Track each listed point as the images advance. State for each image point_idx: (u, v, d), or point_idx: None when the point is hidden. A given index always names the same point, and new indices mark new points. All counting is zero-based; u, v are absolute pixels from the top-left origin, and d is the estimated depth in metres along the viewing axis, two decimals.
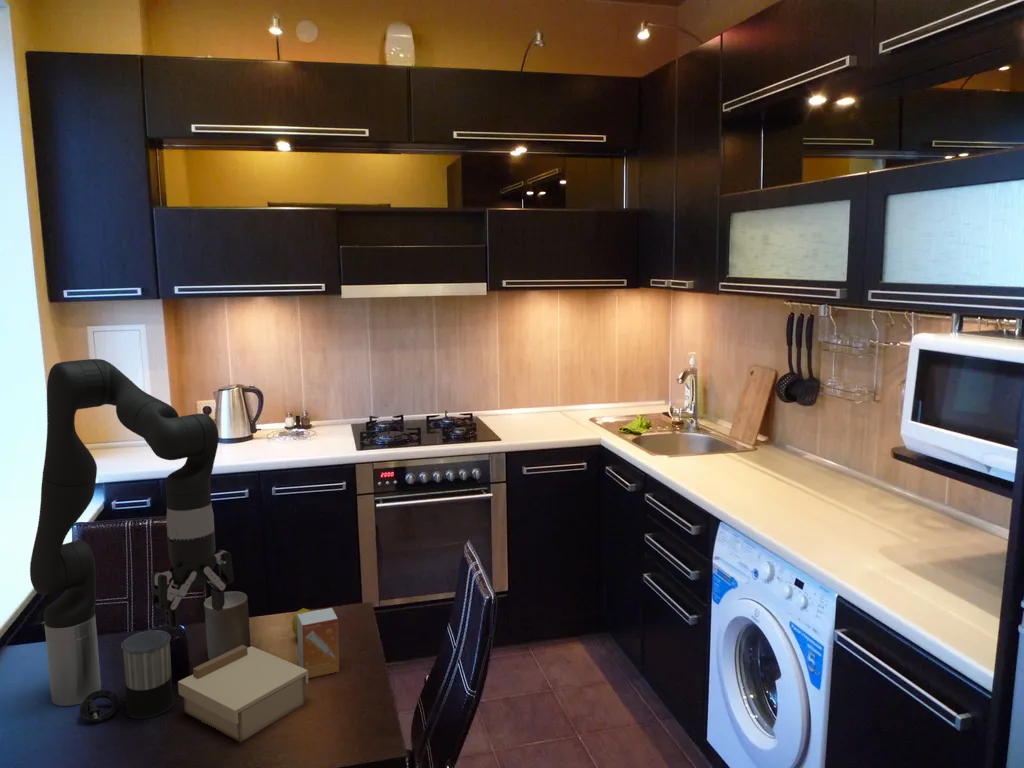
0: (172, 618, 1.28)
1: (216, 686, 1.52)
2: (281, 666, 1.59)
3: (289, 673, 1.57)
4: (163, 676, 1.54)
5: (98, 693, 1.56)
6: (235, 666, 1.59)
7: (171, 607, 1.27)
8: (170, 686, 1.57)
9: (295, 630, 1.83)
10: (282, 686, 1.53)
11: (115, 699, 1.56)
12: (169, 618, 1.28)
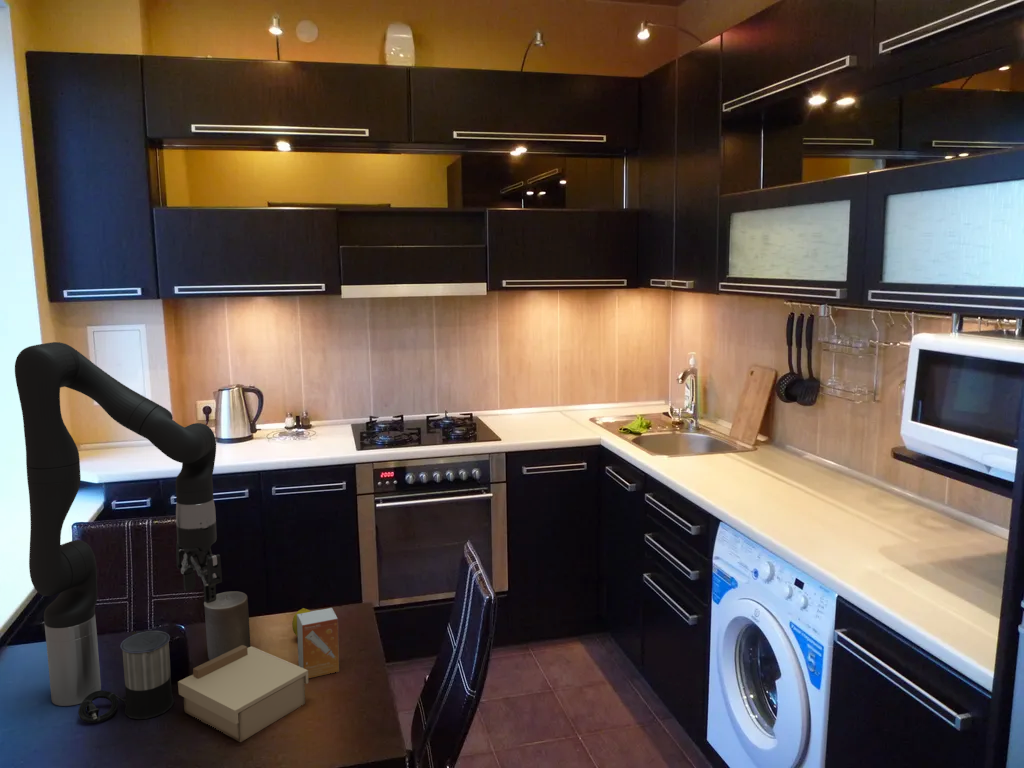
0: None
1: (216, 686, 1.52)
2: (281, 666, 1.59)
3: (289, 673, 1.57)
4: (163, 676, 1.54)
5: (97, 694, 1.56)
6: (235, 666, 1.59)
7: None
8: (169, 686, 1.57)
9: (295, 630, 1.83)
10: (282, 686, 1.53)
11: (114, 699, 1.56)
12: (214, 591, 1.55)
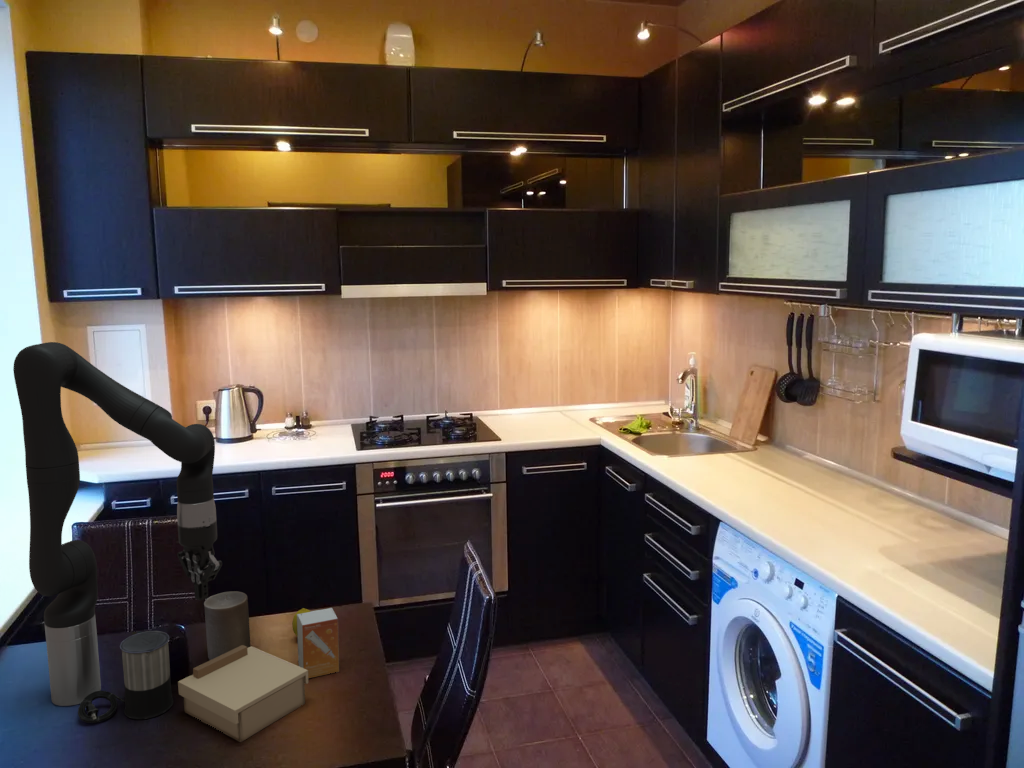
0: None
1: (216, 686, 1.52)
2: (281, 666, 1.59)
3: (289, 673, 1.57)
4: (162, 676, 1.54)
5: (97, 694, 1.56)
6: (235, 666, 1.59)
7: None
8: (169, 687, 1.56)
9: (295, 630, 1.83)
10: (282, 686, 1.53)
11: (114, 700, 1.56)
12: (207, 589, 1.60)
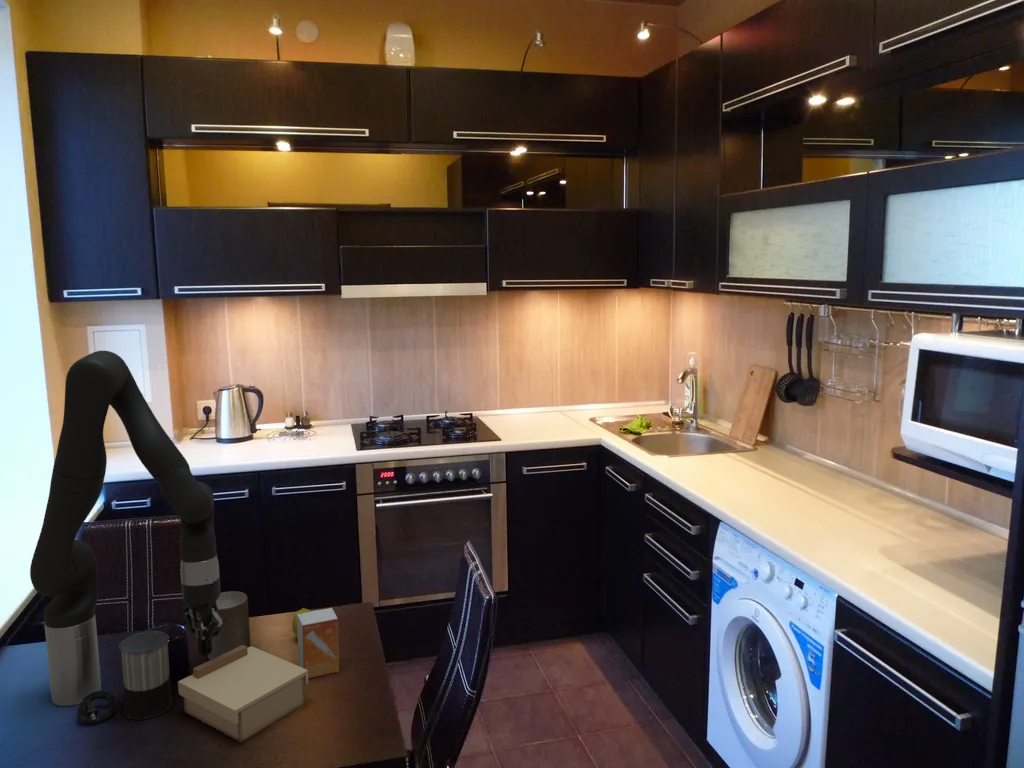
0: None
1: (216, 686, 1.52)
2: (281, 666, 1.59)
3: (289, 673, 1.57)
4: (161, 677, 1.54)
5: (96, 694, 1.56)
6: (235, 666, 1.59)
7: None
8: (168, 687, 1.56)
9: (295, 630, 1.83)
10: (282, 686, 1.53)
11: (113, 700, 1.56)
12: (210, 644, 1.62)
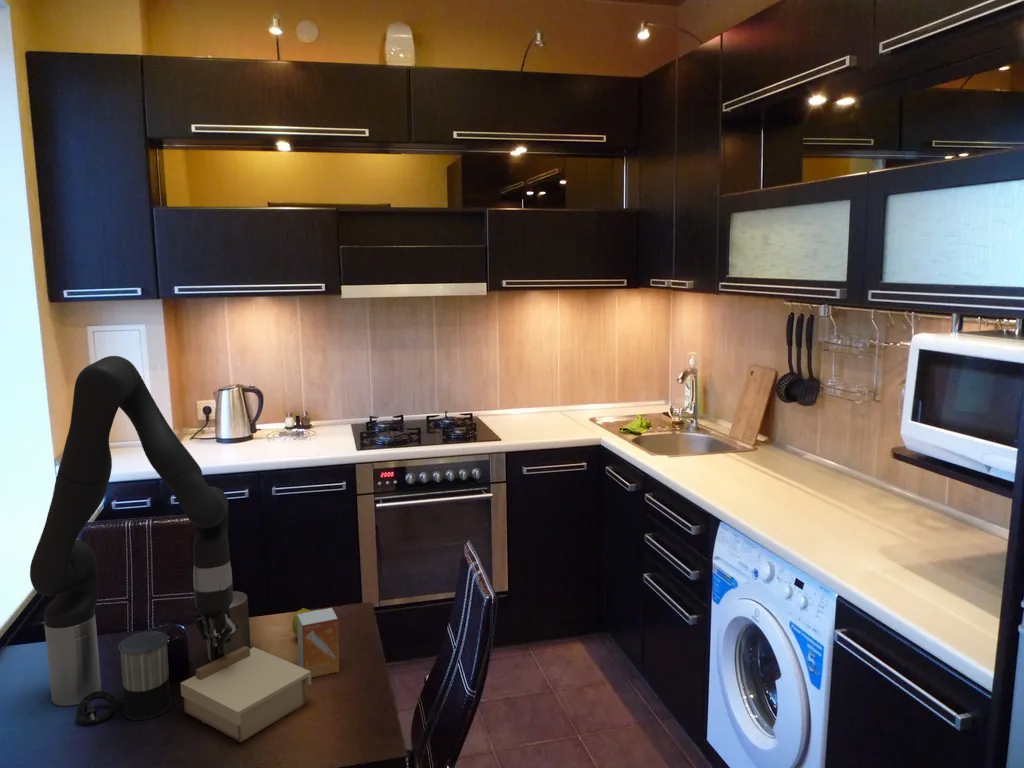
0: None
1: (219, 687, 1.51)
2: (283, 667, 1.59)
3: (292, 674, 1.56)
4: (161, 677, 1.54)
5: (95, 694, 1.56)
6: (237, 667, 1.59)
7: None
8: (167, 687, 1.56)
9: (295, 630, 1.83)
10: (285, 687, 1.52)
11: (112, 700, 1.56)
12: (223, 651, 1.60)
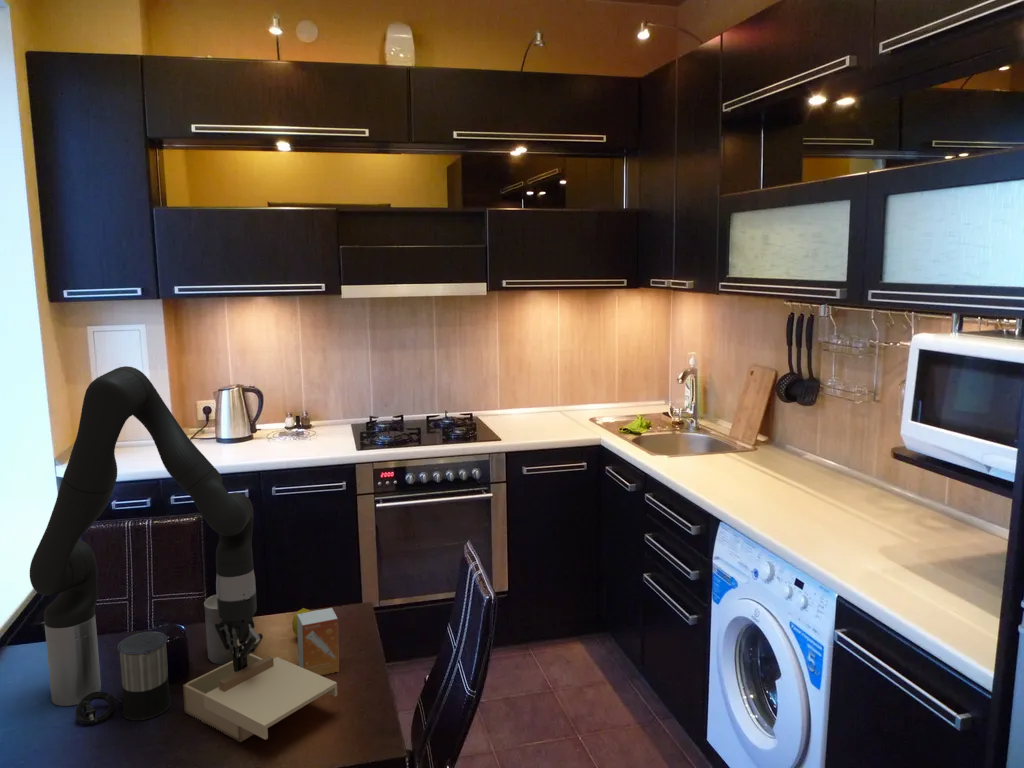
0: None
1: (243, 699, 1.47)
2: (308, 678, 1.55)
3: (318, 685, 1.52)
4: (160, 677, 1.54)
5: (95, 695, 1.56)
6: (261, 678, 1.55)
7: None
8: (166, 688, 1.56)
9: (295, 630, 1.83)
10: (311, 699, 1.48)
11: (112, 700, 1.56)
12: (246, 661, 1.56)
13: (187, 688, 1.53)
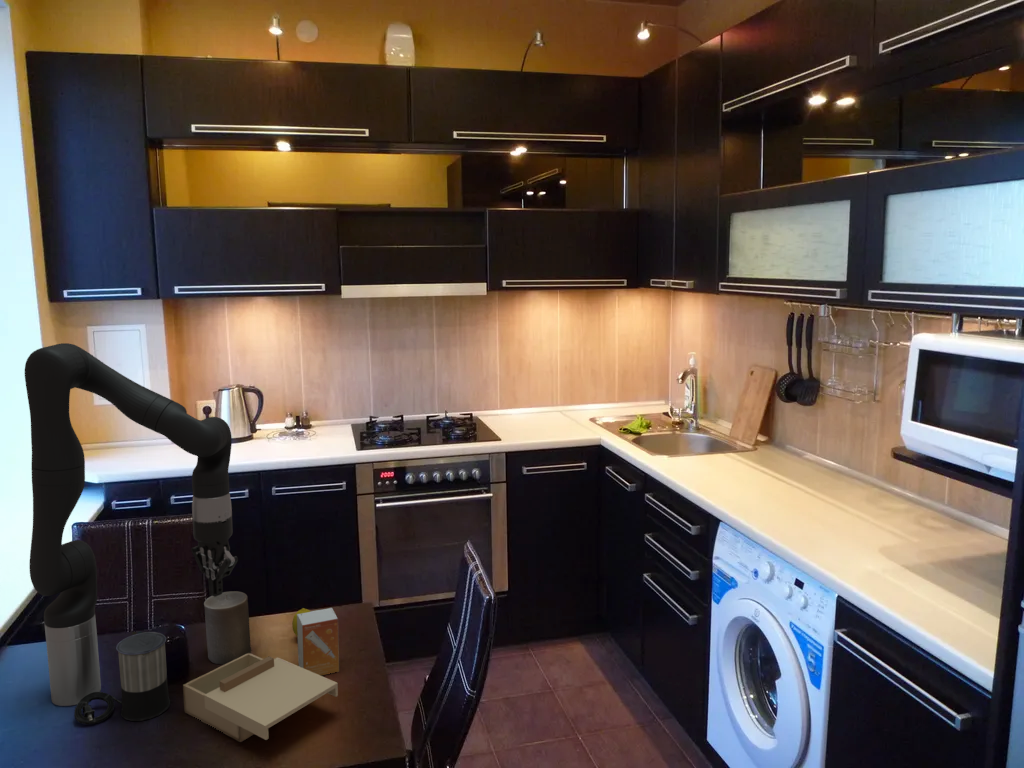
0: None
1: (244, 700, 1.47)
2: (309, 678, 1.55)
3: (319, 686, 1.52)
4: (159, 678, 1.53)
5: (93, 695, 1.56)
6: (262, 679, 1.54)
7: None
8: (165, 688, 1.56)
9: (295, 630, 1.83)
10: (312, 700, 1.48)
11: (110, 701, 1.56)
12: (221, 585, 1.57)
13: (187, 688, 1.53)
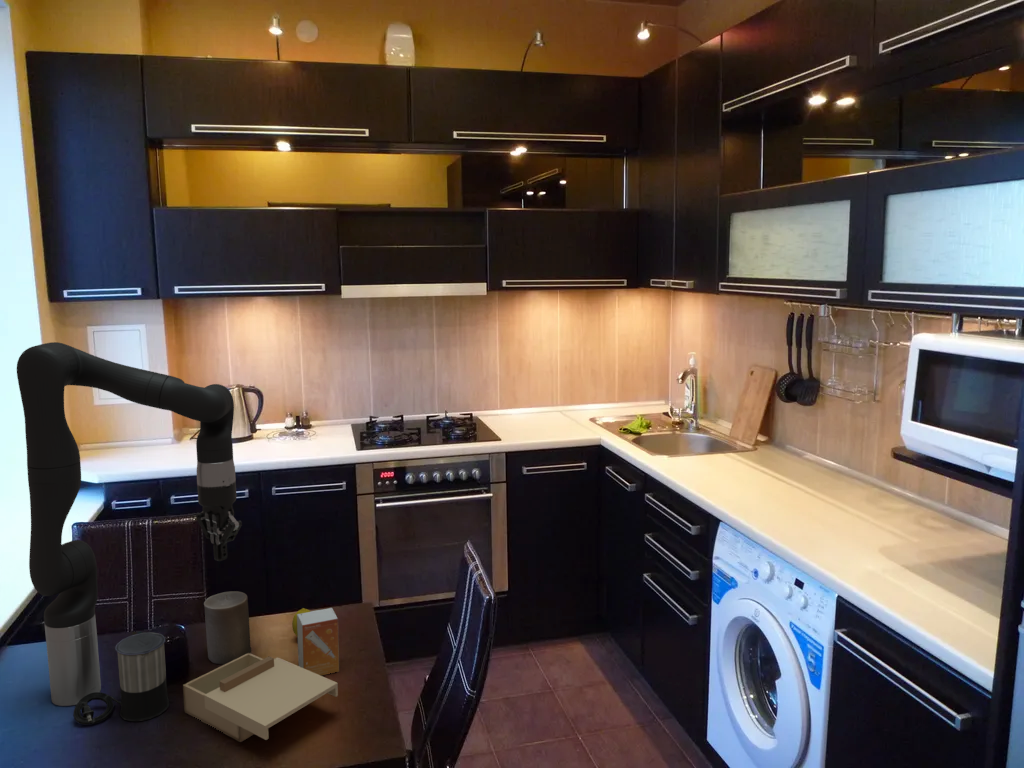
0: None
1: (244, 700, 1.47)
2: (309, 678, 1.55)
3: (319, 686, 1.52)
4: (158, 678, 1.53)
5: (93, 695, 1.55)
6: (262, 679, 1.54)
7: None
8: (164, 689, 1.56)
9: (295, 630, 1.83)
10: (312, 700, 1.48)
11: (110, 701, 1.55)
12: (226, 550, 1.60)
13: (187, 688, 1.53)
